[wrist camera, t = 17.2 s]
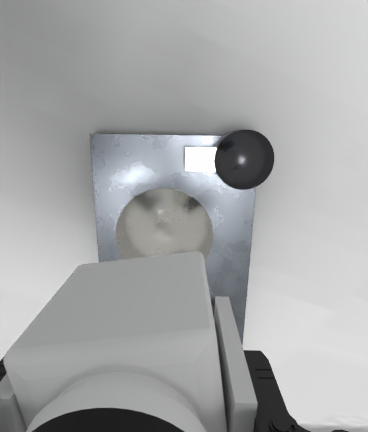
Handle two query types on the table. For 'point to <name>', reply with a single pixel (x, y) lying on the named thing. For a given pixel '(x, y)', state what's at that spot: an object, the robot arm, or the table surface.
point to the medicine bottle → (123, 351)
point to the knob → (234, 159)
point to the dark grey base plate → (171, 209)
